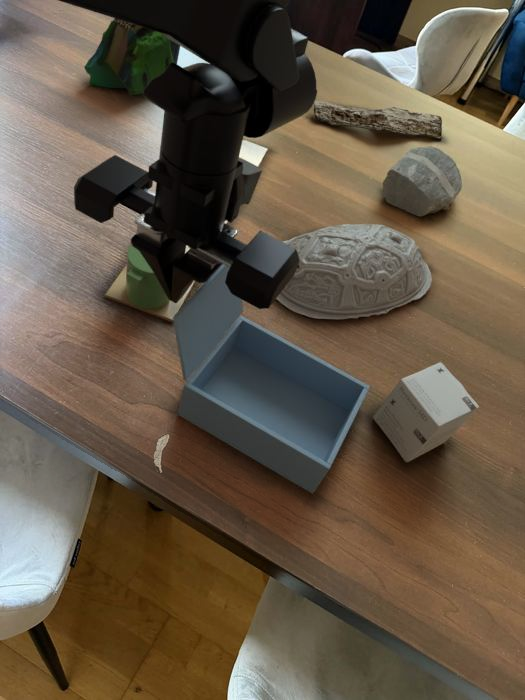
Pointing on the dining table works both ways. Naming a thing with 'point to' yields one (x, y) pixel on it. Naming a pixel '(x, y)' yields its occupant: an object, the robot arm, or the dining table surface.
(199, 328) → the flap
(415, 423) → the white cardboard box
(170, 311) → the board
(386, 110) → the driftwood
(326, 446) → the carton
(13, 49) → the dining table surface
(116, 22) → the sculpture
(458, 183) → the decorative stone
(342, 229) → the turtle shell
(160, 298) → the pot
